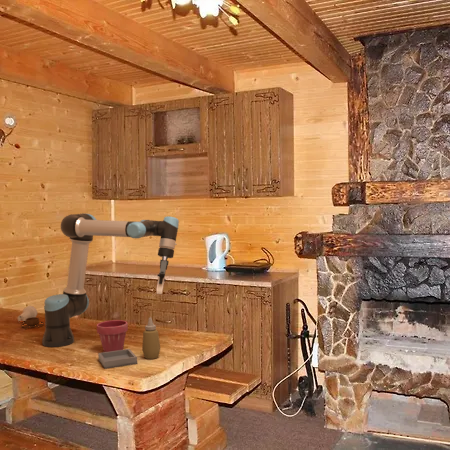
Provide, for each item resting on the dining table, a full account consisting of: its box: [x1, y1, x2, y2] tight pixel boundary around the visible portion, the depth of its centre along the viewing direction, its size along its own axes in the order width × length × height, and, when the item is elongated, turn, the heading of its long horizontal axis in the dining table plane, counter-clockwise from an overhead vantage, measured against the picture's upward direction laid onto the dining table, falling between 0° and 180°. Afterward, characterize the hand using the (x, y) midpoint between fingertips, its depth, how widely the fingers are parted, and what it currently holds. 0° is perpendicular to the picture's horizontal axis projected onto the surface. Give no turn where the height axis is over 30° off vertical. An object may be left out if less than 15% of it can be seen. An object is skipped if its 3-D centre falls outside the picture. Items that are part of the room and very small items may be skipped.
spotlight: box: [17, 305, 38, 322], centre depth 316 cm, size 8×11×8 cm
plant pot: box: [96, 319, 129, 352], centre depth 249 cm, size 14×14×13 cm
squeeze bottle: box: [141, 317, 161, 360], centre depth 236 cm, size 8×8×18 cm
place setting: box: [20, 316, 45, 329], centre depth 300 cm, size 18×20×6 cm
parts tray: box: [97, 348, 138, 370], centre depth 231 cm, size 14×14×3 cm
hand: (159, 292), depth 249 cm, fingers open, 13 cm apart
